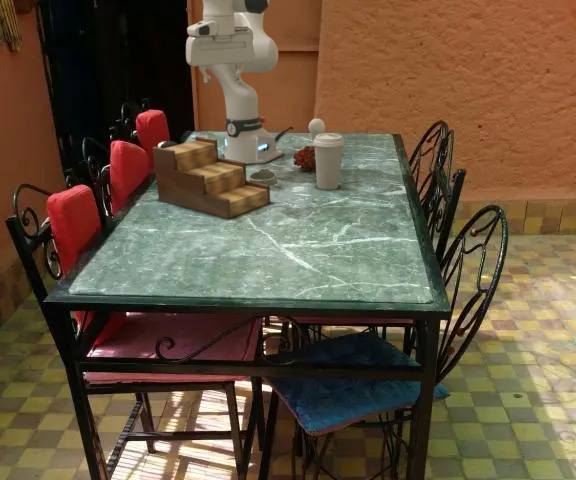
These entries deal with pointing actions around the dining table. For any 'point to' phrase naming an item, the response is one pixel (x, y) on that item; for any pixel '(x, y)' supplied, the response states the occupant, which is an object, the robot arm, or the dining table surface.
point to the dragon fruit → (306, 158)
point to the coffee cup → (328, 159)
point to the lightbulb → (316, 128)
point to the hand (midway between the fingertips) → (222, 81)
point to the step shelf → (206, 180)
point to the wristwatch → (264, 177)
